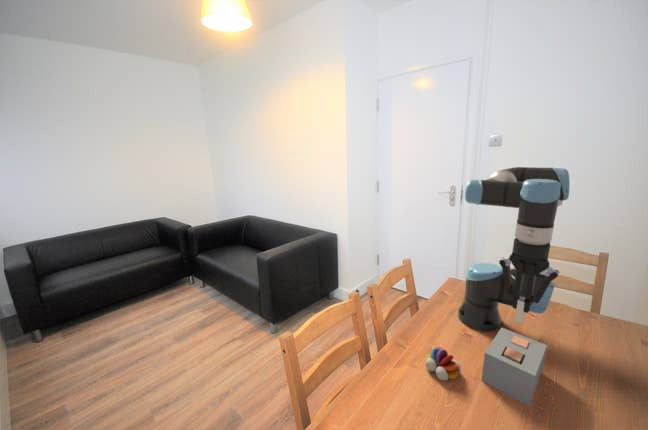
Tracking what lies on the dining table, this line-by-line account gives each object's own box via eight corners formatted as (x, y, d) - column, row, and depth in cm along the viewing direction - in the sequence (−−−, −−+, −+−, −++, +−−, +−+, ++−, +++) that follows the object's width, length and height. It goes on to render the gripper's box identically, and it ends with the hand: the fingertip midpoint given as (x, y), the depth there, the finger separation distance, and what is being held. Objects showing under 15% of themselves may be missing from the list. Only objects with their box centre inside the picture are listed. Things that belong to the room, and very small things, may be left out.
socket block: (481, 380, 83) (485, 351, 81) (497, 352, 94) (501, 326, 91) (529, 406, 75) (535, 375, 72) (541, 372, 85) (547, 344, 83)
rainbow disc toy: (446, 387, 82) (447, 367, 80) (420, 365, 90) (422, 346, 88) (464, 376, 85) (467, 356, 83) (439, 356, 94) (440, 337, 92)
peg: (499, 379, 82) (503, 354, 80) (503, 372, 84) (507, 347, 82) (515, 387, 79) (519, 361, 77) (518, 379, 82) (523, 353, 79)
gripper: (498, 238, 73) (488, 316, 79) (562, 250, 64) (545, 337, 70) (506, 231, 78) (496, 305, 84) (567, 242, 69) (551, 324, 75)
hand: (518, 319), depth 77 cm, fingers closed
